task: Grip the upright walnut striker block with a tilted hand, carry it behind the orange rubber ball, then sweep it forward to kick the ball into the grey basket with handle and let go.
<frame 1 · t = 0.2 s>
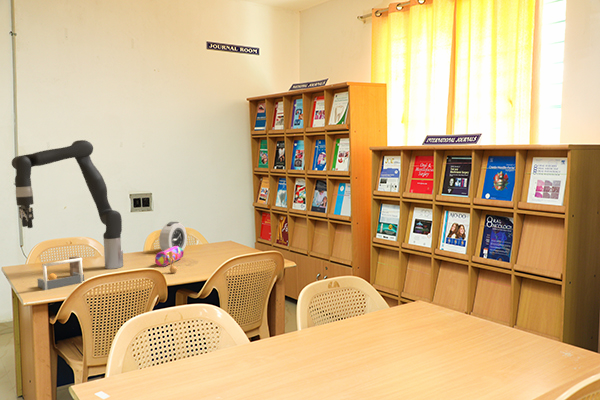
hand: (27, 227, 252), 28 cm above the table, tool pointing down, fingers open, 8 cm apart
ball: (52, 277, 256), point 2 cm above the table
figurine: (172, 273, 272), on the table
striker: (75, 275, 268), on the table
pencil case: (169, 263, 297), on the table
grey basket with handle: (60, 284, 249), on the table
alarm clock: (173, 251, 333), on the table
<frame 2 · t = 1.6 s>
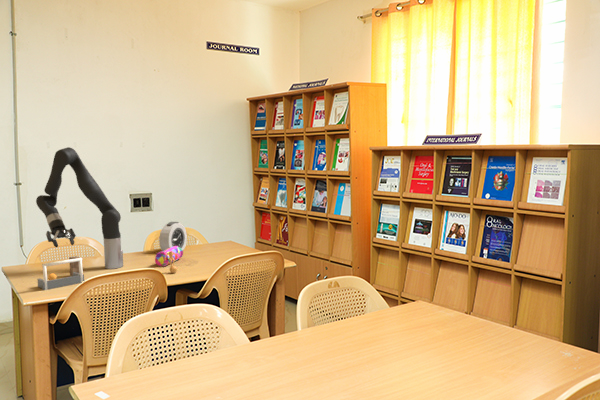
hand: (65, 245, 274), 15 cm above the table, tool tilted 45°, fingers open, 8 cm apart
nothing on the table moved.
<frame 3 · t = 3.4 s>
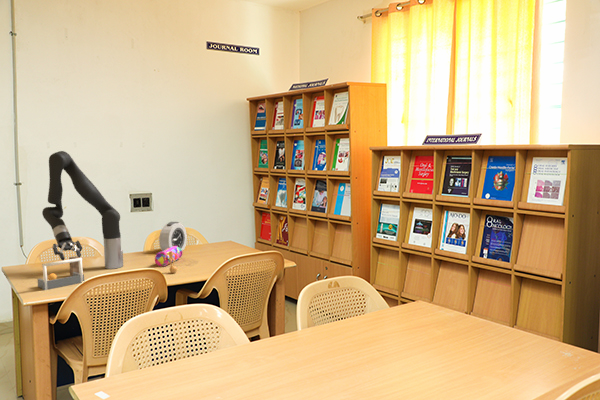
hand: (71, 258, 269), 9 cm above the table, tool tilted 45°, fingers open, 8 cm apart
nothing on the table moved.
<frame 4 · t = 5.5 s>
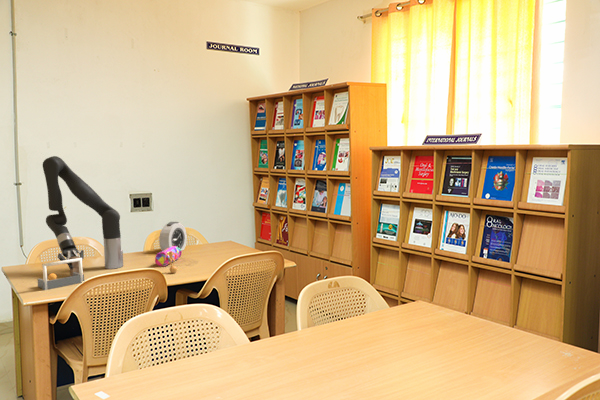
hand: (76, 267, 266), 5 cm above the table, tool tilted 45°, fingers closed on striker, 4 cm apart
striker: (75, 275, 268), on the table, touching gripper
everything else where it was.
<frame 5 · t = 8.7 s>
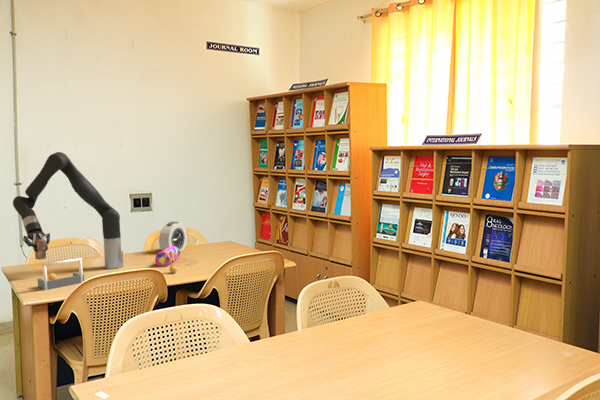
hand: (41, 250, 263), 14 cm above the table, tool tilted 45°, fingers closed on striker, 4 cm apart
striker: (40, 258, 265), point 10 cm above the table, touching gripper
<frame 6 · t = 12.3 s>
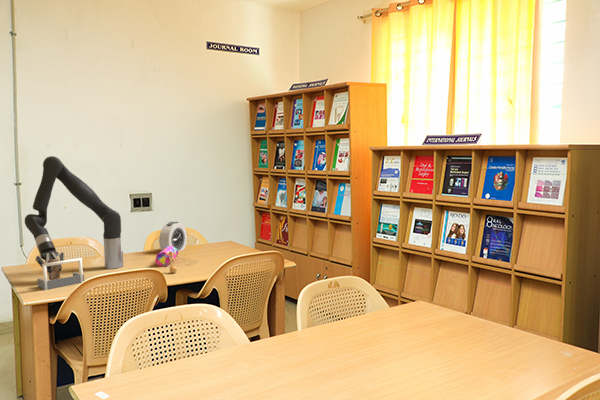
hand: (55, 271, 252), 6 cm above the table, tool tilted 45°, fingers closed on striker, 4 cm apart
ball: (60, 281, 248), point 2 cm above the table, tilted 23°
striker: (54, 279, 254), point 1 cm above the table, touching gripper
when the fingers open (6 cm above the table, at t = 12.3 s): striker drops 1 cm, on the table.
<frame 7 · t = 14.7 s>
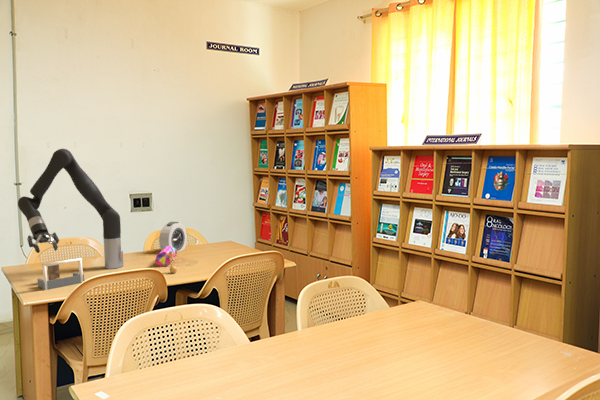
hand: (47, 250, 258), 15 cm above the table, tool tilted 45°, fingers open, 8 cm apart
ball: (58, 281, 247), point 2 cm above the table, tilted 40°
striker: (54, 282, 254), on the table
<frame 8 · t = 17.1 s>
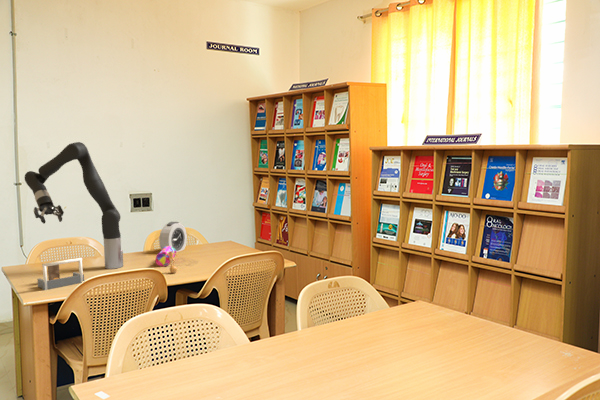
hand: (52, 221, 271), 29 cm above the table, tool tilted 45°, fingers open, 8 cm apart
ball: (56, 281, 247), point 2 cm above the table, tilted 65°
at the end: ball inside the target area on the grey basket with handle (2.5 cm from its centre), point 2.0 cm above the grey basket with handle's base; striker tilted 0°; the gripper is holding nothing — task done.
